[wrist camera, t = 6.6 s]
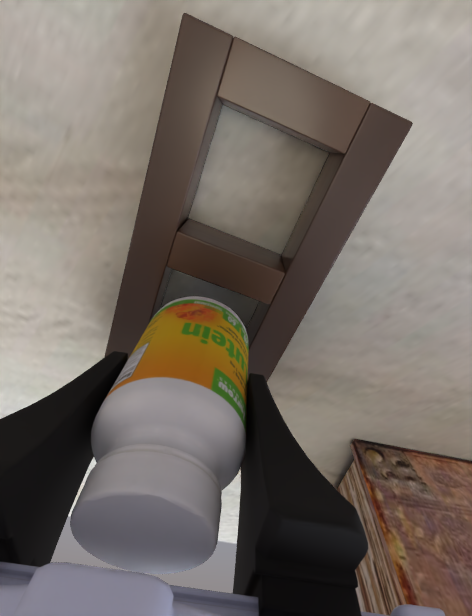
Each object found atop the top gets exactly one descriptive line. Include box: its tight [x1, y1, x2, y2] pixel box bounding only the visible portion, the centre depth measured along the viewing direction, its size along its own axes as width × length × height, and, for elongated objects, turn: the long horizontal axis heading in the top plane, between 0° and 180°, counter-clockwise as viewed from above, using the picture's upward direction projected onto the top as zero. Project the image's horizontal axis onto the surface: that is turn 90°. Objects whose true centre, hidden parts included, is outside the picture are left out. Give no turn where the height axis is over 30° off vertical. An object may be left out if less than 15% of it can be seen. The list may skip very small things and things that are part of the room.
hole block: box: [105, 13, 413, 382], centre depth 17 cm, size 10×18×3 cm, turn 159°
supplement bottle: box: [70, 296, 249, 574], centre depth 13 cm, size 5×5×10 cm
